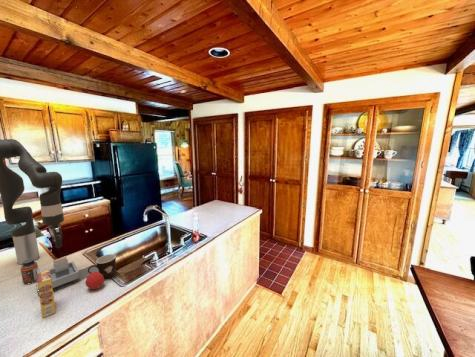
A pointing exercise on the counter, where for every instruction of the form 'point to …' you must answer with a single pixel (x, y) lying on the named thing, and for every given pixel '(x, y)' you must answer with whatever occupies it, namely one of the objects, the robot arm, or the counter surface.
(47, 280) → the candy box
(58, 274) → the steel block
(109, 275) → the coffee mug
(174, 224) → the counter surface
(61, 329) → the counter surface
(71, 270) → the grey shallow tray
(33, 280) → the supplement bottle
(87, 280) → the tomato
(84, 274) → the runner mat
